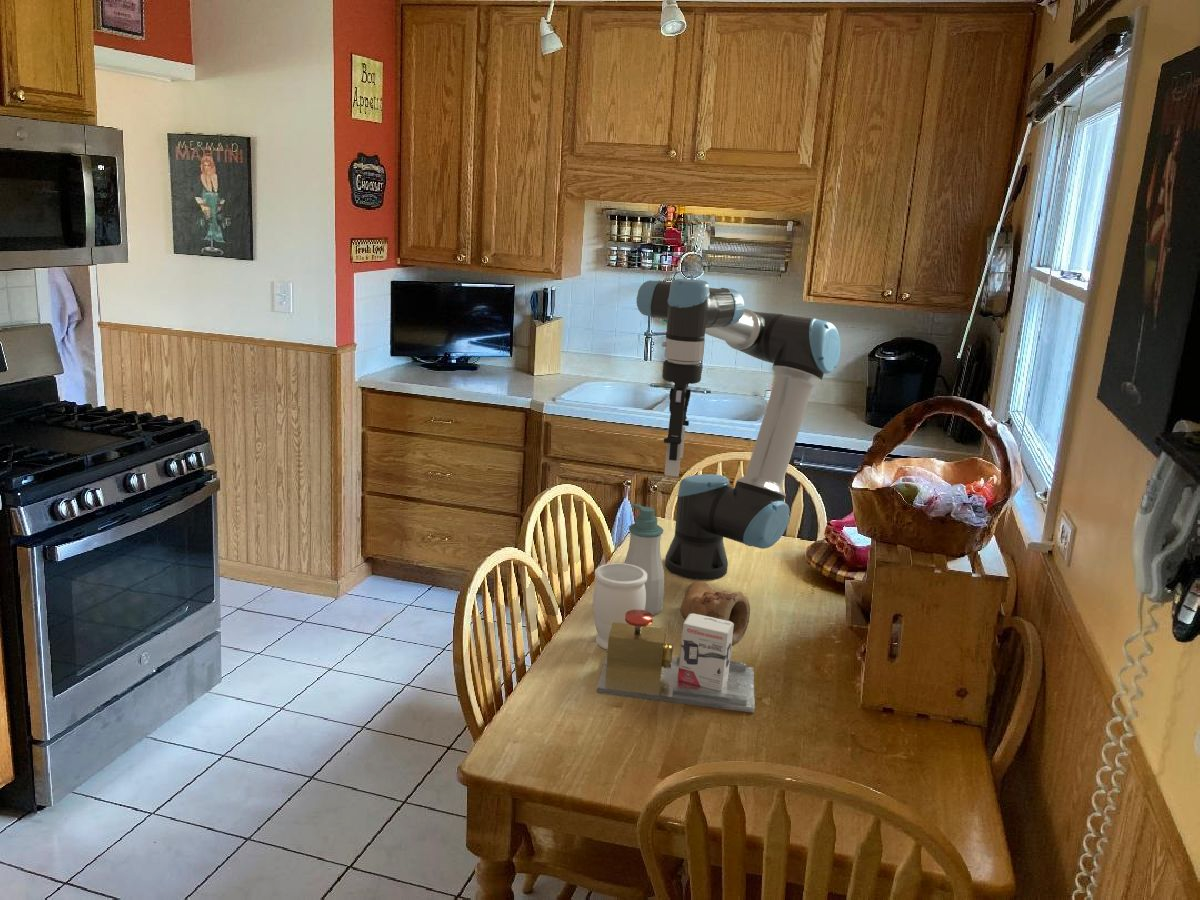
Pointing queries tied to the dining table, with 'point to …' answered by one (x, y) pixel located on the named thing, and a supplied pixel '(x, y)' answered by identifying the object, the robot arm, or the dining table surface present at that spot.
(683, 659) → the ink box
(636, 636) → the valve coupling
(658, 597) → the soap bottle
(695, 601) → the clay pipe
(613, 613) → the jar
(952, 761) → the dining table surface
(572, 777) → the dining table surface
